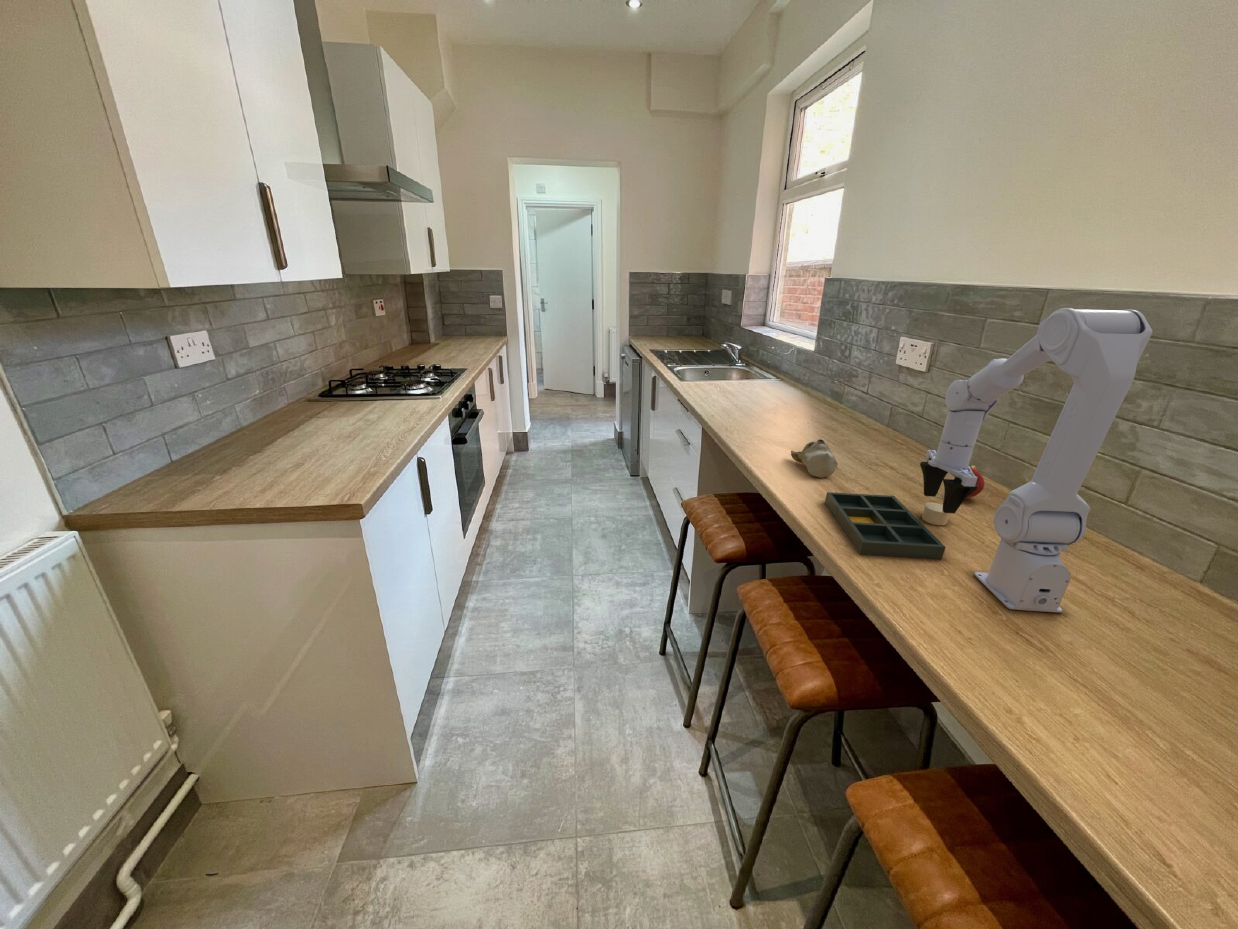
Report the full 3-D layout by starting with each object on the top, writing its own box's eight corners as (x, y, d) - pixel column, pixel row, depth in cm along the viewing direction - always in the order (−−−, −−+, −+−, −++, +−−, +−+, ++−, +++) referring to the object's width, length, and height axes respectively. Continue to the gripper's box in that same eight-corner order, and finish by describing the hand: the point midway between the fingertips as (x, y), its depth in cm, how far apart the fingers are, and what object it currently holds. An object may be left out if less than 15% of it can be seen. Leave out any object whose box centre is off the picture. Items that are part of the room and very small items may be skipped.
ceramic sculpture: (806, 446, 117) (791, 430, 131) (800, 479, 120) (787, 460, 134) (852, 448, 116) (832, 432, 130) (845, 482, 119) (827, 463, 133)
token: (951, 526, 100) (955, 513, 99) (928, 524, 100) (932, 511, 99) (939, 515, 104) (943, 503, 103) (917, 514, 105) (921, 501, 103)
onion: (983, 505, 109) (994, 472, 106) (955, 502, 110) (965, 469, 107) (971, 494, 115) (982, 462, 112) (944, 491, 116) (954, 460, 113)
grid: (941, 559, 88) (945, 547, 87) (860, 554, 89) (862, 542, 88) (891, 506, 108) (894, 495, 107) (824, 502, 109) (826, 492, 108)
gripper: (918, 429, 103) (902, 487, 108) (956, 454, 89) (936, 519, 95) (953, 431, 102) (936, 489, 107) (996, 456, 89) (974, 521, 94)
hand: (938, 503), depth 101 cm, fingers open, 7 cm apart
